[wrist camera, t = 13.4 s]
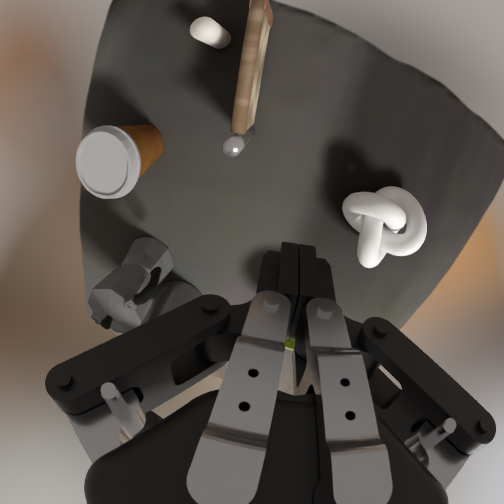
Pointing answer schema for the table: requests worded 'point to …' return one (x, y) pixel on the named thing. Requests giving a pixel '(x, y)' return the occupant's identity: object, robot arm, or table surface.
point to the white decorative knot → (385, 223)
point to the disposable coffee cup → (116, 158)
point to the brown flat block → (251, 65)
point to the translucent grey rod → (238, 142)
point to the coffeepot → (131, 286)
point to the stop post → (210, 32)
